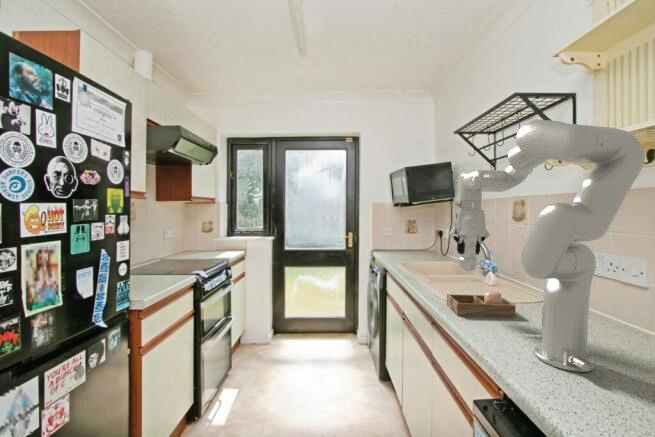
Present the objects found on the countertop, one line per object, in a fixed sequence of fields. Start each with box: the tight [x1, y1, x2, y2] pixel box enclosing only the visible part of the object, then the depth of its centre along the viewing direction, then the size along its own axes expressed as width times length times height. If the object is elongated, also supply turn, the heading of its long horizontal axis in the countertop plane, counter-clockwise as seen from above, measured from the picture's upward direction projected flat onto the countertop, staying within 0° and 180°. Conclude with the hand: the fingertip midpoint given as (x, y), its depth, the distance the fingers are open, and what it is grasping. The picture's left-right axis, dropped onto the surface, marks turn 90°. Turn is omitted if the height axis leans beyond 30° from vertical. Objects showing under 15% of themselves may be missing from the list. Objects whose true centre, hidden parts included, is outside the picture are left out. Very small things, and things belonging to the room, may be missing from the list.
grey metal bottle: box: [458, 228, 478, 272], centre depth 114 cm, size 6×7×20 cm
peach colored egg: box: [483, 290, 502, 304], centre depth 115 cm, size 6×6×7 cm
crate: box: [446, 293, 516, 318], centre depth 115 cm, size 12×20×5 cm, turn 87°
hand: (468, 253), depth 114 cm, fingers closed on grey metal bottle, 5 cm apart
